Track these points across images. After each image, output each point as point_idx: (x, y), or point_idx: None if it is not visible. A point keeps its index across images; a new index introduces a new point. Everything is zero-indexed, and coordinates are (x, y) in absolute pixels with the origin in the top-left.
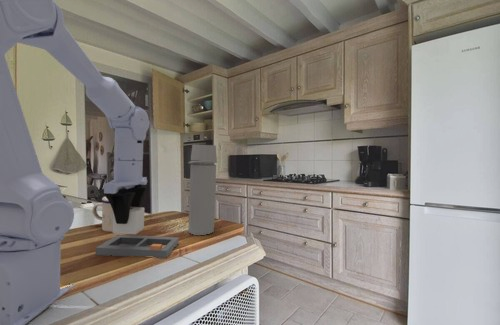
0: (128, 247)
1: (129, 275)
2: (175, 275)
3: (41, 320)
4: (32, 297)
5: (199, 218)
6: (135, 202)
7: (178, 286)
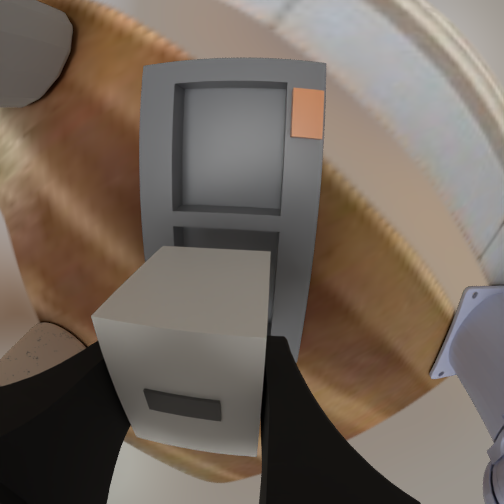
0: (294, 252)
1: (429, 174)
2: (418, 36)
3: None
4: None
5: (22, 24)
6: (92, 408)
7: (462, 33)
